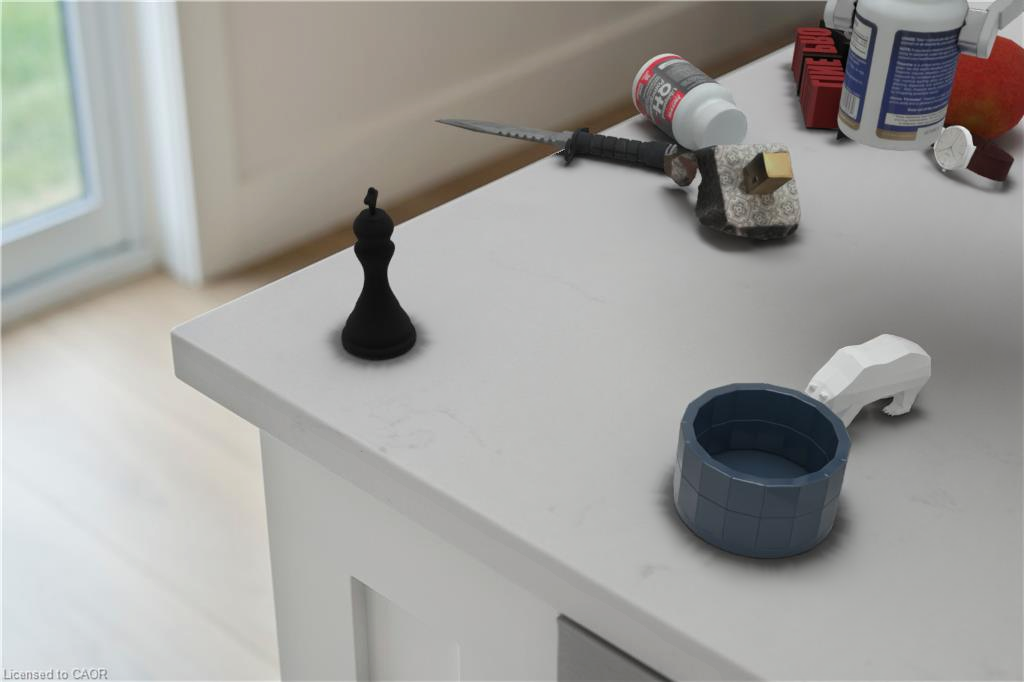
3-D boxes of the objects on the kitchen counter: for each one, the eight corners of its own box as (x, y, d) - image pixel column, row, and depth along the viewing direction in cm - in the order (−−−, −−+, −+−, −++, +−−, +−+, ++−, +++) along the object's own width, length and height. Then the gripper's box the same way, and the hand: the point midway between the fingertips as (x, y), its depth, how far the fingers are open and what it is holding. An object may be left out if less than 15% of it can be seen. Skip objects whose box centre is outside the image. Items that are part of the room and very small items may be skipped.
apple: (999, 71, 91) (1015, 2, 95) (901, 101, 96) (920, 35, 100) (1044, 143, 95) (1058, 74, 99) (947, 168, 100) (963, 102, 104)
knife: (448, 120, 101) (422, 142, 97) (448, 97, 100) (422, 119, 96) (680, 157, 95) (663, 182, 91) (682, 133, 94) (665, 157, 90)
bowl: (774, 436, 67) (786, 368, 64) (868, 530, 61) (885, 459, 58) (644, 474, 64) (651, 405, 62) (729, 577, 58) (740, 505, 56)
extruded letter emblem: (807, 138, 98) (952, 146, 97) (814, 97, 96) (962, 105, 95) (787, 55, 113) (913, 62, 112) (792, 17, 111) (920, 24, 110)
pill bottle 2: (955, 129, 66) (999, -55, 61) (915, 164, 63) (957, -28, 57) (861, 102, 69) (895, -76, 64) (818, 134, 66) (849, -52, 60)
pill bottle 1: (627, 62, 97) (693, 111, 90) (687, 43, 99) (756, 89, 91) (631, 124, 101) (695, 175, 93) (689, 104, 102) (756, 153, 95)
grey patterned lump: (720, 120, 92) (831, 123, 82) (737, 210, 94) (847, 224, 84) (629, 151, 89) (732, 159, 78) (648, 243, 91) (751, 262, 80)
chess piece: (330, 353, 73) (318, 200, 67) (356, 313, 76) (347, 165, 71) (403, 364, 72) (397, 211, 66) (425, 324, 75) (421, 174, 70)
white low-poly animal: (925, 409, 69) (943, 340, 67) (812, 451, 66) (826, 380, 63) (894, 385, 71) (911, 317, 68) (783, 425, 68) (795, 355, 65)
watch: (998, 144, 89) (967, 187, 90) (1034, 167, 91) (1003, 208, 93) (929, 103, 95) (901, 145, 96) (965, 126, 97) (937, 166, 98)
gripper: (790, -266, 65) (699, -31, 64) (1218, -223, 57) (1125, 49, 56) (805, -190, 71) (722, 27, 70) (1196, -141, 63) (1111, 107, 61)
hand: (904, 38), depth 62 cm, fingers closed on pill bottle 2, 5 cm apart
